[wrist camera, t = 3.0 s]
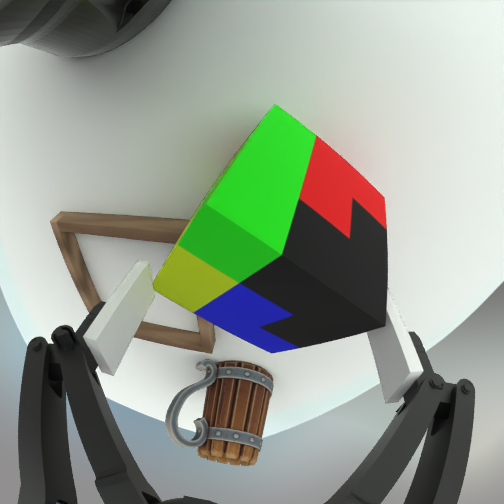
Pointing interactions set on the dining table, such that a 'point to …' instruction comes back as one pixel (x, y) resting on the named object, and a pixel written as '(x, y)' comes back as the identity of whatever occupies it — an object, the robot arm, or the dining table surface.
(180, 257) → the puzzle toy
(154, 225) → the square wooden frame
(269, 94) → the dining table surface
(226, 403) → the mug
